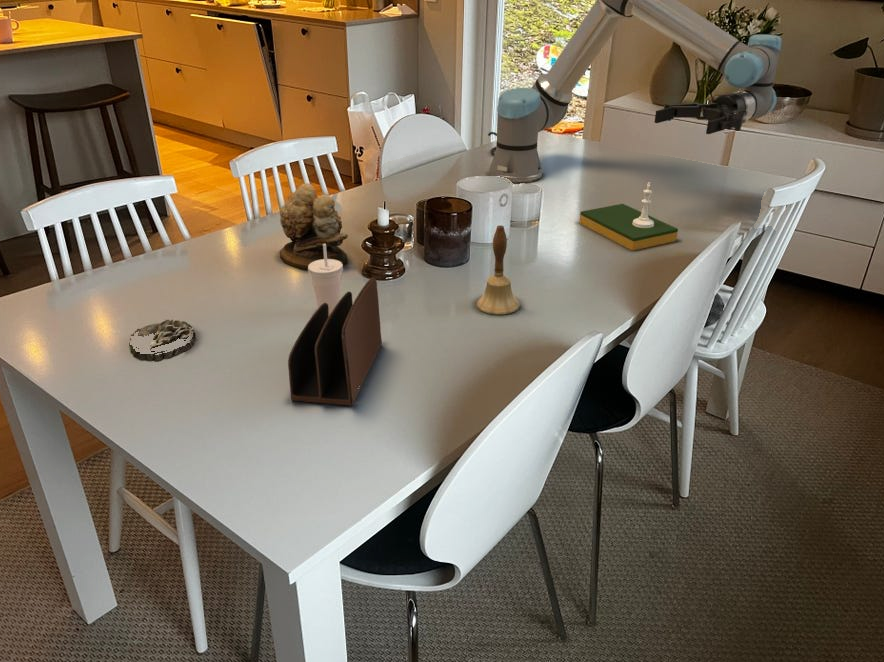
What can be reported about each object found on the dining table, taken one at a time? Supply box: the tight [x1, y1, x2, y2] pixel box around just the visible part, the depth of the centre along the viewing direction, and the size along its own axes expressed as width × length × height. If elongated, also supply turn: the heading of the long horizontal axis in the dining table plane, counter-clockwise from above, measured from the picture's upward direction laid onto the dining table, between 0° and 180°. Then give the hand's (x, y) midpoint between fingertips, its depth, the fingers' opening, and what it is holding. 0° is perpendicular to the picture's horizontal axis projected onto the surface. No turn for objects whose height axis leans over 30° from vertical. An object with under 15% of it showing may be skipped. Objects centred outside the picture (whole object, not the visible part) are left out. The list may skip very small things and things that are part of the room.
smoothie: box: [307, 244, 344, 315], centre depth 138 cm, size 6×6×14 cm
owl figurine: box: [278, 182, 349, 271], centre depth 159 cm, size 18×12×17 cm, turn 57°
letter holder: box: [287, 276, 383, 407], centre depth 119 cm, size 10×20×14 cm, turn 171°
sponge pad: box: [579, 203, 679, 251], centre depth 178 cm, size 20×13×3 cm, turn 27°
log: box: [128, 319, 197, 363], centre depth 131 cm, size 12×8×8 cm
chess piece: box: [632, 181, 654, 228], centre depth 171 cm, size 5×5×10 cm
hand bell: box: [476, 224, 521, 316], centre depth 140 cm, size 8×8×16 cm
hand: (681, 122), depth 168 cm, fingers open, 13 cm apart
